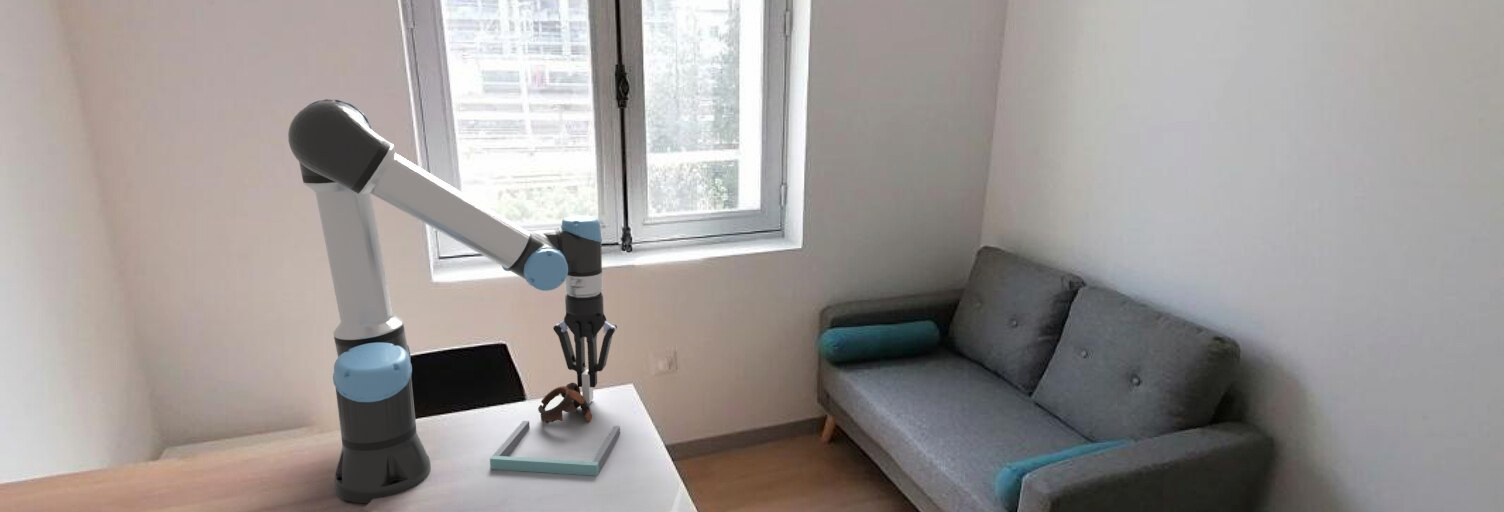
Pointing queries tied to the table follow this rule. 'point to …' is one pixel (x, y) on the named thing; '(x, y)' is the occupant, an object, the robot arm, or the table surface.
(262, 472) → the table surface
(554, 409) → the brown curved openwork piece
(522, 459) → the bay
